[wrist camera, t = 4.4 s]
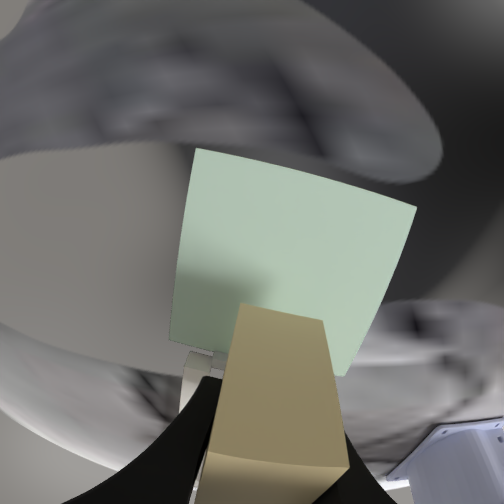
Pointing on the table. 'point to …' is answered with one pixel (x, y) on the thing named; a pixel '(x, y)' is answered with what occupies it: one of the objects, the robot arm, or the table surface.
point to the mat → (282, 252)
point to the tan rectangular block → (274, 415)
